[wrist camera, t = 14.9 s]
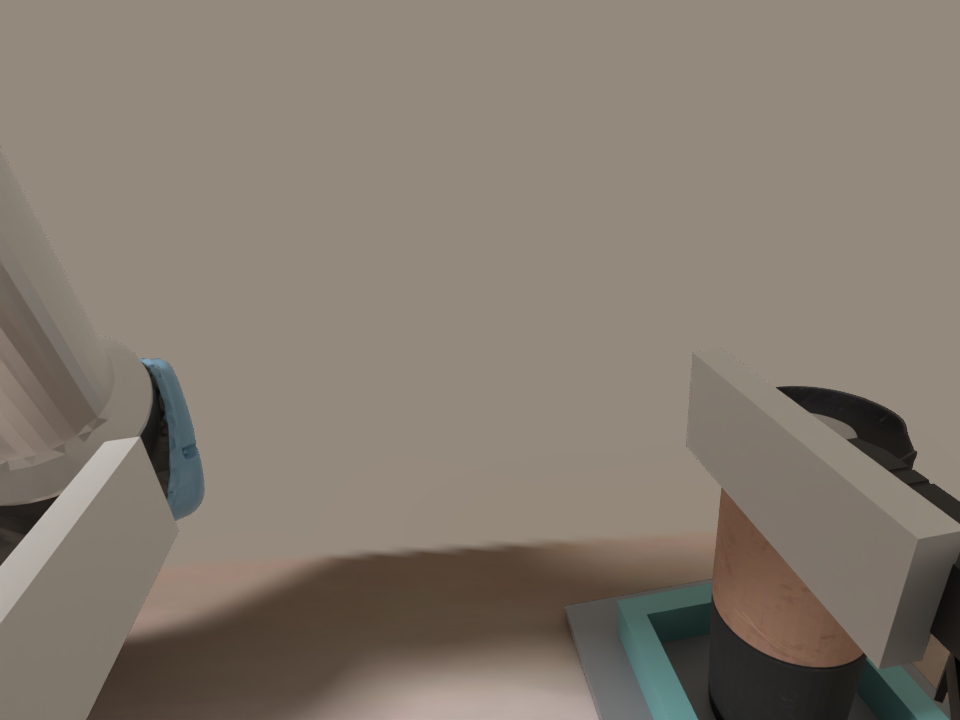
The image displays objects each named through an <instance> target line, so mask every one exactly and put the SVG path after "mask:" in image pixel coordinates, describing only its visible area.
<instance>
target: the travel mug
mask: <svg viewBox="0 0 960 720" xmlns="http://www.w3.org/2000/svg"><path fill="white" fill-rule="evenodd" d="M775 388H777V389H778V390H779V391H781V392H782V393H784V394H785V395H786V396H788V397H789V398H790V399H792V400H793V401H794V402H796V403H797V404H798V405H800V406H801V407H802V408H804V409H805V410H806V411H808V412H809V413H811V414H812V415H813V416H815V417H816V418H817V419H819V420H820V421H821V422H823V423H824V424H825V425H827V426H828V427H829V428H831V429H832V430H833V431H835V432H836V433H838V434H839V435H840V436H842V437H843V438H844V439H851V438H859V439H861V440H863V441H866V442H868V443H871V444H873V445H875V446H878V447H880V448H882V449H885V450H887V451H888V452H890V453H891V454H892V455H894V456H895V457H897V458H898V459H900V460H901V461H902V462H904V463H905V464H907V465H908V466H909V468H910V470H912V468H913V463H914V460H915V458H916V455H917V451H914V449H913V446H912V444H911V441H910V438H909V436H908V432H907V427H906V424H905V422H904V420H903V419H902V418H901V417H900V416H899V415H897V414H896V413H894V412H893V411H891V410H889V409H888V408H886V407H883V406H882V405H879V404H877V403H875V402H873V401H870V400H867V399H865V398H862V397H859V396H856V395H853V394H849V393H845V392H841V391H836V390H831V389H825V388H817V387H806V386H786V387H785V386H783V387H775ZM866 658H867V655H866V654H865V653H864V652H863V651H862V650H861V648H860V647H859V646H858V645H857V644H856V643H855V641H854V640H853V639H852V638H851V637H850V636H849V635H848V633H847V632H846V631H845V630H844V629H843V628H842V626H841V625H840V624H839V623H838V622H837V621H836V619H835V618H834V617H833V616H832V615H831V614H830V612H829V611H828V610H827V609H826V608H825V607H824V606H823V604H822V603H821V602H820V601H819V600H818V599H817V597H816V596H815V595H814V594H813V593H812V592H811V590H810V589H809V588H808V587H807V586H806V585H805V583H804V582H803V581H802V580H801V579H800V578H799V576H798V575H797V574H796V573H795V572H794V571H793V570H792V568H791V567H790V566H789V565H788V564H787V563H786V561H785V560H784V559H783V558H782V557H781V556H780V554H779V553H778V552H777V551H776V550H775V549H774V547H773V546H772V545H771V544H770V543H769V542H768V540H767V539H766V538H765V537H764V536H763V535H762V534H761V532H760V531H759V530H758V529H757V528H756V527H755V525H754V524H753V523H752V522H751V521H750V520H749V518H748V517H747V516H746V515H745V514H744V513H743V511H742V510H741V509H740V508H739V507H738V506H737V504H736V503H735V502H734V501H733V500H732V499H731V498H730V496H729V495H728V494H727V493H726V492H725V491H724V489H723V488H721V498H720V508H719V519H718V529H717V539H716V550H715V560H714V570H713V580H712V598H711V624H710V651H709V687H708V691H709V701H710V705H711V708H712V711H713V714H714V716H715V718H716V720H848V716H849V713H850V710H851V707H852V703H853V700H854V697H855V694H856V690H857V687H858V684H859V681H860V678H861V674H862V671H863V668H864V665H865V661H866Z"/></svg>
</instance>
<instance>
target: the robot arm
mask: <svg viewBox="0 0 960 720" xmlns="http://www.w3.org/2000/svg"><path fill="white" fill-rule="evenodd" d="M686 446H687V448H688V449H689V450H690V451H691V452H692V453H693V455H694V456H695V457H696V458H697V459H698V460H699V462H700V463H701V464H702V465H703V466H704V467H705V468H706V470H707V471H708V472H709V473H710V474H711V475H712V477H713V478H714V479H715V480H716V481H717V482H718V484H719V485H720V486H721V487H722V488H723V489H724V491H725V492H726V493H727V494H728V495H729V496H730V498H731V499H732V500H733V501H734V502H735V503H736V504H737V506H738V507H739V508H740V509H741V510H742V511H743V513H744V514H745V515H746V516H747V517H748V518H749V520H750V521H751V522H752V523H753V524H754V525H755V527H756V528H757V529H758V530H759V531H760V532H761V534H762V535H763V536H764V537H765V538H766V539H767V540H768V542H769V543H770V544H771V545H772V546H773V547H774V549H775V550H776V551H777V552H778V553H779V554H780V556H781V557H782V558H783V559H784V560H785V561H786V563H787V564H788V565H789V566H790V567H791V568H792V570H793V571H794V572H795V573H796V574H797V575H798V576H799V578H800V579H801V580H802V581H803V582H804V583H805V585H806V586H807V587H808V588H809V589H810V590H811V592H812V593H813V594H814V595H815V596H816V597H817V599H818V600H819V601H820V602H821V603H822V604H823V606H824V607H825V608H826V609H827V610H828V611H829V612H830V614H831V615H832V616H833V617H834V618H835V619H836V621H837V622H838V623H839V624H840V625H841V626H842V628H843V629H844V630H845V631H846V632H847V633H848V635H849V636H850V637H851V638H852V639H853V640H854V641H855V643H856V644H857V645H858V646H859V647H860V648H861V650H862V651H863V652H864V653H865V654H866V655H867V657H868V658H869V659H870V660H871V661H872V662H873V664H874V665H875V666H876V667H877V668H878V669H883V668H888V667H892V666H897V665H902V664H907V663H911V662H916V661H921V660H922V658H923V655H924V653H925V650H926V647H927V644H928V641H929V638H930V635H931V634H932V635H933V636H934V637H936V638H937V639H938V640H939V641H940V642H941V643H942V644H943V645H944V646H945V647H946V648H947V649H948V650H949V651H950V655H949V657H948V660H947V662H946V665H945V668H944V670H943V673H942V676H941V678H940V681H939V684H938V686H937V689H936V693H935V697H934V700H935V701H938V702H940V703H943V701H944V698H945V696H946V693H947V692H948V695H949V705H950V714H951V720H960V502H959V501H958V500H957V499H955V498H954V497H952V496H951V495H949V494H948V493H946V492H945V491H944V490H942V489H941V488H939V487H938V486H937V485H935V484H930V483H929V480H928V479H927V478H925V477H924V476H922V475H921V474H919V473H918V472H917V471H915V470H910V468H909V466H908V465H907V464H905V463H904V462H902V461H901V460H900V459H898V458H897V457H895V456H894V455H892V454H891V453H890V452H888V451H887V450H885V449H882V448H880V447H878V446H875V445H873V444H871V443H868V442H866V441H863V440H861V439H859V438H851V439H844V438H843V437H842V436H840V435H839V434H838V433H836V432H835V431H833V430H832V429H831V428H829V427H828V426H827V425H825V424H824V423H823V422H821V421H820V420H819V419H817V418H816V417H815V416H813V415H812V414H811V413H809V412H808V411H806V410H805V409H804V408H802V407H801V406H800V405H798V404H797V403H796V402H794V401H793V400H792V399H790V398H789V397H788V396H786V395H785V394H784V393H782V392H781V391H779V390H778V389H777V388H775V387H774V386H773V385H771V384H770V383H769V382H767V381H766V380H765V379H763V378H762V377H760V376H759V375H758V374H756V373H755V372H754V371H752V370H751V369H750V368H748V367H747V366H745V365H744V364H743V363H742V362H740V361H739V360H738V359H736V358H735V357H734V356H732V355H731V354H729V353H728V352H727V351H725V350H724V349H723V348H718V349H712V350H706V351H699V352H693V354H692V368H691V382H690V396H689V410H688V424H687V438H686ZM204 490H205V487H204V477H203V470H202V464H201V460H200V455H199V452H198V449H197V447H196V440H195V435H194V429H193V425H192V421H191V418H190V414H189V411H188V407H187V405H186V401H185V398H184V395H183V392H182V389H181V387H180V384H179V382H178V379H177V376H176V374H175V372H174V370H173V368H172V367H171V366H170V364H169V363H168V362H167V361H164V360H161V359H150V360H148V359H144V358H142V359H139V358H138V357H137V356H136V355H135V353H133V352H132V351H131V350H130V349H128V348H127V347H126V346H124V345H122V344H121V343H119V342H117V341H115V340H113V339H111V338H108V337H106V336H103V335H99V334H97V333H96V331H95V329H94V327H93V325H92V323H91V321H90V319H89V318H88V316H87V314H86V312H85V310H84V308H83V306H82V304H81V302H80V300H79V298H78V296H77V294H76V292H75V290H74V288H73V287H72V284H71V282H70V281H69V279H68V277H67V275H66V273H65V271H64V269H63V267H62V265H61V263H60V261H59V259H58V257H57V255H56V253H55V252H54V249H53V248H52V245H51V244H50V242H49V240H48V238H47V236H46V234H45V232H44V230H43V228H42V226H41V224H40V222H39V220H38V218H37V216H36V214H35V213H34V210H33V209H32V207H31V205H30V203H29V201H28V199H27V197H26V195H25V193H24V191H23V189H22V187H21V185H20V183H19V181H18V179H17V177H16V175H15V173H14V172H13V170H12V168H11V166H10V164H9V162H8V160H7V158H6V156H5V154H4V152H3V150H2V148H1V146H0V720H86V719H87V717H88V715H89V713H90V711H91V709H92V707H93V705H94V703H95V701H96V699H97V697H98V695H99V693H100V691H101V689H102V687H103V685H104V682H105V680H106V678H107V676H108V674H109V672H110V670H111V668H112V666H113V664H114V662H115V660H116V658H117V656H118V654H119V652H120V650H121V648H122V646H123V644H124V642H125V640H126V638H127V636H128V634H129V632H130V630H131V628H132V626H133V624H134V621H135V619H136V617H137V615H138V613H139V611H140V609H141V607H142V605H143V603H144V601H145V599H146V597H147V595H148V593H149V591H150V589H151V587H152V585H153V583H154V581H155V579H156V577H157V575H158V573H159V571H160V569H161V567H162V565H163V563H164V560H165V558H166V556H167V554H168V552H169V550H170V548H171V546H172V544H173V542H174V540H175V538H176V536H177V534H178V532H179V529H178V527H177V524H176V522H175V521H177V520H179V519H181V518H184V517H186V516H188V515H190V514H191V513H193V512H194V511H195V510H196V509H197V508H198V507H199V506H200V504H201V502H202V500H203V497H204Z"/></svg>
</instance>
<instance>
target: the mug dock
mask: <svg viewBox="0 0 960 720" xmlns="http://www.w3.org/2000/svg"><path fill="white" fill-rule="evenodd" d="M712 580H713V579H709V580H704V581H698V582H693V583H687V584H682V585H676V586H671V587H665V588H660V589H654V590H649V591H643V592H638V593H632V594H627V595H622V596H616V597H611V598H605V599H600V600H594V601H589V602H583V603H578V604H572V605H567V606H565V616H566V619H567V622H568V625H569V628H570V631H571V634H572V637H573V640H574V643H575V646H576V649H577V653H578V656H579V659H580V662H581V665H582V668H583V671H584V674H585V677H586V680H587V683H588V686H589V689H590V692H591V696H592V699H593V702H594V705H595V708H596V711H597V714H598V717H599V720H716V718H715V716H714V714H713V711H712V708H711V705H710V701H709V691H708V687H709V651H710V624H711V598H712ZM935 693H936V689H935V688H934V687H933V685H932V684H931V683H930V682H929V681H928V680H927V679H926V678H925V677H924V676H923V675H922V674H921V673H920V671H919V670H918V669H917V668H916V667H915V666H914V665H913V664H912V663H907V664H902V665H897V666H892V667H888V668H883V669H878V668H877V667H876V666H875V665H874V664H873V662H872V661H871V660H870V659H869V658H868V657H867V658H866V661H865V665H864V668H863V671H862V674H861V678H860V681H859V684H858V687H857V690H856V694H855V697H854V700H853V703H852V707H851V710H850V713H849V716H848V720H951V714H950V705H949V703H948V702H947V701H946V699H945V698H944V701H943V703H940V702H938V701H935V700H934V697H935Z"/></svg>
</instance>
